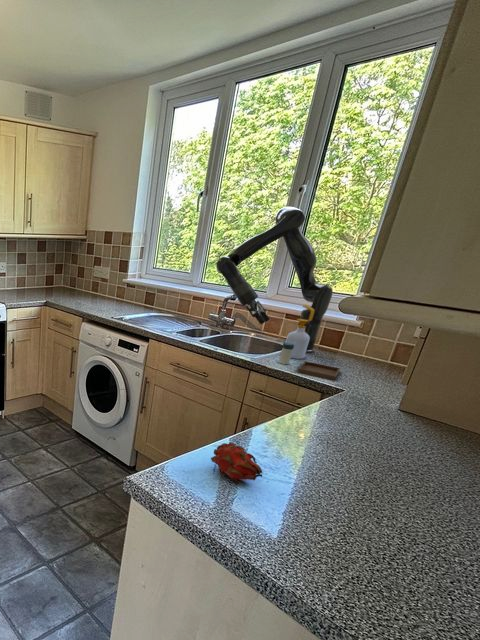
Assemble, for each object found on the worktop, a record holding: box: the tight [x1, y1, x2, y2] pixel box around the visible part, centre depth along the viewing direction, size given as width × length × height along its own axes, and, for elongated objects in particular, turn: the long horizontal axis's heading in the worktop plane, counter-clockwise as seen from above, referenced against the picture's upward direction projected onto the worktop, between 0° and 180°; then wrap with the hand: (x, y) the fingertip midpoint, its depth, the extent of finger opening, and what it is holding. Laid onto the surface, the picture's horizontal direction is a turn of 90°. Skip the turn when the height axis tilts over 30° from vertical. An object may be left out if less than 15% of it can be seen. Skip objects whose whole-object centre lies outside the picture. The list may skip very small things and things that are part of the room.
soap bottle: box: [285, 304, 315, 360], centre depth 192 cm, size 9×9×25 cm
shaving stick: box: [278, 342, 294, 365], centre depth 184 cm, size 4×4×9 cm
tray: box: [297, 360, 341, 381], centre depth 175 cm, size 15×13×2 cm
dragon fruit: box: [210, 442, 264, 484], centre depth 96 cm, size 8×8×12 cm
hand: (265, 321), depth 187 cm, fingers open, 8 cm apart
